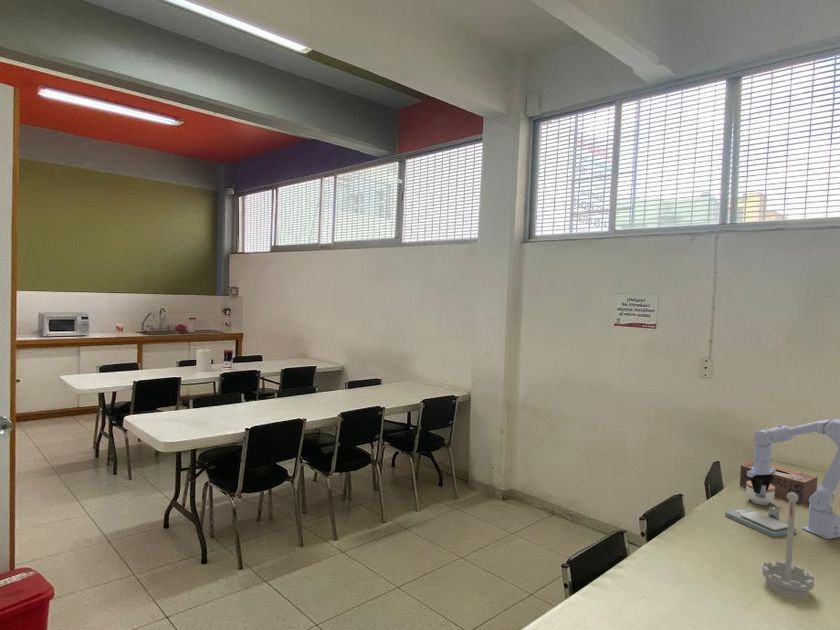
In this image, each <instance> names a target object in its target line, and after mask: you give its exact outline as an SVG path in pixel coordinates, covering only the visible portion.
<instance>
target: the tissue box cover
mask: <svg viewBox="0 0 840 630" xmlns="http://www.w3.org/2000/svg"><path fill="white" fill-rule="evenodd" d="M751 467H754V460H753V461H749V462H747V463H744V464H741V465H740V472H739V473H740V474H739V487H742V486H744V487H743V488H745V487H746V482H747V481H751V480H750V478H749V477H748V476H747V471H750V470H751ZM770 468H774V469H776V474H773V473H772V474H771V475H773V476H774V479H773V480H772V482H771V483H770V484H771V485H773V486H775V495H774V497H775V496H776V498H779V499H783V500H787V501H789V500H788V499H787V494H788V493H790V492H793V493H796V494H797V495H798V501H797V502H795V504H799V505H802V506H803V505H805V504H807V503H809V498H810V496H811V495H813V494H814V493H815V491H816V490H817V489H818V476H817V475H813V474H808V473H805V472H800V471H797V470H793V469H790V468H785V467H781V466H777V465H774V464H772V463H770Z"/></svg>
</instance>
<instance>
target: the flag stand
mask: <svg viewBox="0 0 840 630" xmlns="http://www.w3.org/2000/svg"><path fill="white" fill-rule="evenodd" d="M787 499H788V500H787V501H788V504H789V505H788V517H787V525H788V531H787V535H786V546H785V547H786V550H785V561H783V560H775V563H772V561H770V560H766V561H764V562H763V565H762V575H763V577H764V578H765V585H766V586H767V587H768V588H769V589H770V590H771V589H772V592H775V593H776V594H779V595H781V594H782V596H784V595H785V597H787V596H790V597H789V598H791V597H794V598H793V599H798V598H802V599H806V598H805V597H807V598H809V597H810V591H811V590H812V589H814V587H815V576H814V575H813V574H812V573H811V572H804V570H805V569H804V568H803V567H801V566H798V565H796V564H793V562H792V561H793V546H794V533H793V532H794V527H795V516H796V515H795V512H796V502H797V501H798V495H797V494H796V493H793V492H790V493H788V494H787ZM792 564H793V565H792ZM792 566H793V567H792Z"/></svg>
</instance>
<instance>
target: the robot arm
mask: <svg viewBox="0 0 840 630" xmlns="http://www.w3.org/2000/svg"><path fill="white" fill-rule="evenodd" d="M811 433H818V434H820V435H826V436H827V437H828V438H829V439H830V440H832V441H833V442H834V443H835V445H836V447H837V451H836V453H835V454H834V456H833V459H832V461H831V463H830V464H829V467H828V469H827V471H826V473H825V475H824V477H823V478H822V481H821V483H820V484H819V486H818V487H817V490H816V491H815V493H814V494H813V495H811V496H810V498H809V502H808V503H809V505H808V506H809V507H808V522H807V526H803V527H802V529H803V530H805V531H806V532H810V533H812V534H814V535H816V536H819V537H821V538H824V539H827V540H832V539H836V538H840V515H839V514H838V515H837V513H834V510H833V508H832V506H831V505H833V504H834V503H835V493H836V491H837V487H838V486H839V483H840V418H839V417H838V418H833V419H822V420H817V421H813V422H808V423H804V424H800V425H796V426H792V427H791V426H788V425H785V424H778V425H777V426H776V427H771V428H769V427H766V428H764V429H761V430H759V431H756V432H755V433H754V434H753V437H752V438H753V441H754V449H753V450H754V451H753V461H754V467H751V470H750V471H747V476H748V477H749V478H750V480H751V482H752V485H753V490H754V492H755V493H757V494H760V492H761V486H762V483H763V484H766V493H767V491H768V488H769V485H770V483H771V482H772V480H773V479H774V476H773V475H771V474H772V473H773V474H776V469H774V468H770V464H771V460H772V458H771V457H772V443H773V444H776V443H782V442H787V441H791V440H793V438H794V436H798V435H799V436H800V435H804V434H811Z"/></svg>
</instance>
